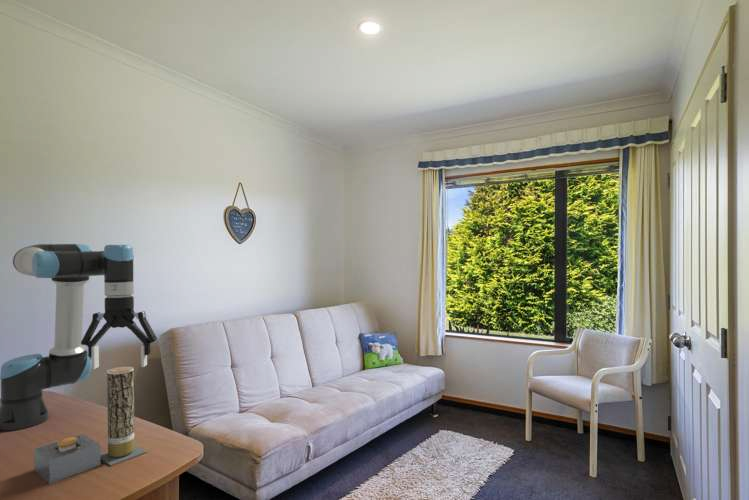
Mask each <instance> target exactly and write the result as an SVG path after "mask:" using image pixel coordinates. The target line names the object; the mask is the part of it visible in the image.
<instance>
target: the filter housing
mask: <svg viewBox="0 0 749 500" xmlns="http://www.w3.org/2000/svg"><path fill="white" fill-rule="evenodd" d="M75 437H76V438H77V443H76V448H73V449H69V450H66V451H63V452H59V447H58V446H57V442H58V441H57V442H53V443H50V444H47V445H43V446H40V447H38V448H34V449H33V451H34V453H33V454H34V455H33V456H34V459H33V461H34V465H33V466H34V472H35V473H36V474H38V475H39V476H40V477H41V479H43V480H44V481H46V482H47V483H48V484H49V485H51V484H53V483H57V482H59V481H63V480H65V479H67V478H70V477H73V476H75V475H78V474H81V473H84V472H87V471H89V470H91V469H94V468H97V467H101V460H100V454H101V443H98V442H97V441H95V440H94V439H92V438H91V437H89V436H88V435H85V434H84V433H83V434H80V435H77V436H75Z"/></svg>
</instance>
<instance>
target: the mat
mask: <svg viewBox="0 0 749 500" xmlns="http://www.w3.org/2000/svg"><path fill="white" fill-rule="evenodd" d="M147 453H148V451H147V450H145V449H144V448H141V447H140V446H138V445H136V444H134V450H133V452H132V453H130V454H128V455H126V456H123V457H117V458H114V457H110V456H109V455H108V450H106V451H105V452H101V453H100V461H102V462H103V463H104V464H107V465H108V466H110V467H112V466H116V465H118V464H120V463H123V462H126V461H129V460H131V459H134V458H137V457H139V456H142V455H144V454H147Z"/></svg>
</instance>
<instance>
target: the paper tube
mask: <svg viewBox="0 0 749 500" xmlns="http://www.w3.org/2000/svg"><path fill="white" fill-rule="evenodd" d="M106 371H107V374H106V375H107V376H106V377H107V379H106V381H107V451H108V455H109V456H110V457H114V458H117V457H123V456H126V455H128V454H130V453H132V452H133V450H134V445H135V377H134V375H135V372H134V367H133V366H118V367H113V368H110V369H108V370H106Z"/></svg>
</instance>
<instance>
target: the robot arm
mask: <svg viewBox="0 0 749 500" xmlns="http://www.w3.org/2000/svg"><path fill="white" fill-rule="evenodd" d="M103 248H104V249H103V250H98V251H97V250H96V251H93V249H92V248H91V247H90V246H89V245H86V244H80V243H55V244H54V243H49V244H46V243H39V244H33V245H29V246H25V247H23V248H21V249H18V250H17V251H16V253H14V255H13V257H12V266H13V267H14V269H15V270H16V271H17V272H18V273H20V274H21V275H27V276H31V277H32V276H33V277H35V278H38V279H51V282H53V283H54V284H55V286H56V289H55V291H56V292H55V313H54V314H55V320H54V321H55V322H54V341H53V342H54V344H53V345H54V346H53V347H52V348H51V349H49V351H48V355H47V356H43V355H42V354H41V353H32V354H26V355H22V356H21V355H20V356H18V357H15V358H12V359H11V358H10V359H9V360H7V361H5V362H3V364H2V365H1V367H0V430H2V432H7V431H16V430H17V431H18V430H21V429H26V428H30V427H34V426H38V425H39V424H41V423H44V422H46V421H47V420H48V419H49V418H50V413H49V409H48V407H47V404H46V402H45V400H44V398H43V390H47V389H51V388H56V387H61V386H66V385H73V384H76V383H80V382H83V381H85V380H86V379H87V378H88V377H90V376H89V375H90V373H91V370H95V369H97V368H99V367H100V350H99V349H100V345H99V344H97V343H98V342H99V341H100V340H101V338H103V336H104V335H105V334H107V332H108V330H110V329H111V328H112V329H114V328H127V329H129V330H130V331H131V332H132V333H133V334H134V335H135V336H136V337H137V338H138V339H139V341H140V342H141V343H142V344H141V345H140V367H141V368H145V367H146V366H147V365H148V355H150V354H151V344H152V343H154V342H156V341H157V340H158V337H157V336H156V334H155V332H154V330H153V327H151V325H150V323H149V320H148V318H147V315H146V311H144V310H142V311H139V312H138V311H137V312H135V309H134V308H135V307H134V305H135V300H134V299H135V297H134V296H133V294H135V293H134V292H135V291H134V287H135V286H134V257H135V256H134V248H133V246H132V245H131V244H105V246H104V247H103ZM93 276H95V277H96V276H98V277H99V276H104V278H103V279H104V281H103V282H104V296H106V297H105V298H104V312H103V313H101V312H99V311H98V312H95V313H92V318H91V319H92V320H91V322H90V324H89V326H88V327H87V330H86V331H85V333H84V335H83V327H84V326H83V324H84V323H83V322H84V321H83V320H84V319H83V318H84V301H85V300H84V296H85V294H84V293H85V284H86V283H87V282H89V281H90V277H93ZM135 317H136V319H137V320H138V321H139V323H140V325H141V327H142V329H143V330H141V328H140V327H139V326H138V325H137V323H136V322H135V321H134V319H135ZM103 319H104V320H105V323H104V324H103V325H102V327H101V328H100V329H99V330H98V332H97V333H96V334H95V335H94V333H95V332H96V330H97V328H98V327H99V325H100V323H101V321H102V320H103ZM87 348H88V349H87Z"/></svg>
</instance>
